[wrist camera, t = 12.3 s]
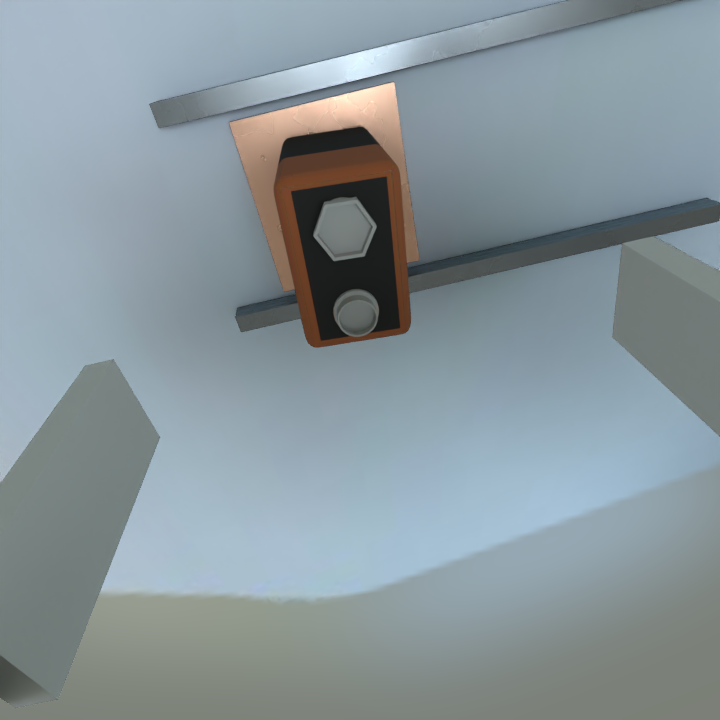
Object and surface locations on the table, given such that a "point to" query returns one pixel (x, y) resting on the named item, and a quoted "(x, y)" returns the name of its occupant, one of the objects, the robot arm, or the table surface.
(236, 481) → the table surface
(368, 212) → the battery
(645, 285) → the robot arm
